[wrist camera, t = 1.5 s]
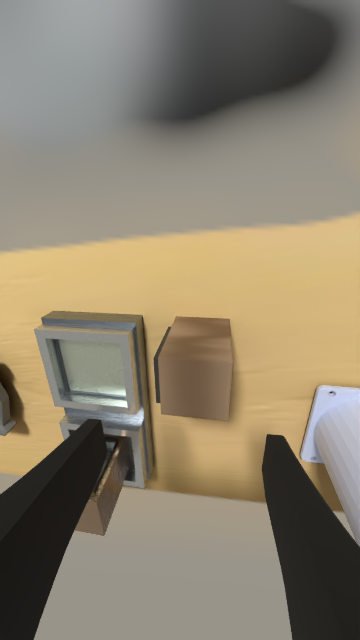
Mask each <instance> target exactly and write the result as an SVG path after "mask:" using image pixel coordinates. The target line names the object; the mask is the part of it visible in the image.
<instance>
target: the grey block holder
mask: <svg viewBox="0 0 360 640" xmlns="http://www.w3.org/2000/svg"><path fill="white" fill-rule="evenodd" d="M41 319H42V323H43V324H42V325H40V326H39V327H37V328H35V329H34V331H35V335H36V338H37V342H38V346H39V350H40V353H41V357H42V361H43V364H44V368H45V372H46V375H47V379H48V383H49V386H50V390H51V394H52V397H53V401H54V405H55V406H57V407H64V410H65V416H64V417H63V418H62V420H61V421H60V422H59V423H60V427H61V431H62V434H63V438H64V440H66V439H67V438H68V437H69V436H70V435H71V434H72V433H73V432H74V431H75V430H76V429H77V428H78V427H80V426H81V425H82V424H83V423H84V422H85V421H86V420H87V419H88V418H89V419H100V420H101V422H102V426H103V431H104V436H105V441H106V446H107V450H108V453H107V456H106V459H105V462H104V465H103V468H102V470H101V473H100V476H99V478H98V481H97V483H96V485H95V487H94V489H93V492H92V494H91V496H90V498H89V500H88V502H87V504H86V507H85V509H84V511H83V513H82V515H81V517H80V519H79V522H78V524H77V526H76V528H75V530H76V531H81V532H87V533H92V534H97V535H102V536H104V535H105V532H106V530H107V527H108V524H109V522H110V519H111V516H112V513H113V510H114V508H115V505H116V502H117V500H118V497H119V494H120V491H121V489H122V486H123V485H127V486H133V487H140V488H145V485H146V481H147V479H150V478H151V474H152V470H153V467H154V460H153V447H152V434H151V422H150V409H149V396H148V384H147V371H146V358H145V346H144V333H143V321H142V315H129V314H107V313H86V312H65V311H52V312H51V313H49V314H47V315H45V316H44V317H42V318H41Z"/></svg>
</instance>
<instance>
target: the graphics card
mask: <svg viewBox="0 0 360 640" xmlns="http://www.w3.org/2000/svg"><path fill="white" fill-rule="evenodd" d="M15 424H16V422H15V421H13V420H12V419H10V406H9V396H8V394H7V393H6V391H5V389H4V388H3V386H2V384H1V383H0V435H3V436H5V435H6V434H7V433H8V432H9V431H10V430H11V429H12V428H13V427H14V425H15Z"/></svg>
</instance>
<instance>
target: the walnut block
mask: <svg viewBox="0 0 360 640" xmlns="http://www.w3.org/2000/svg"><path fill="white" fill-rule="evenodd" d="M232 368H233V358H232V346H231V334H230V322H229V319H219V318H198V317H177V316H176V318H175V320H174V323H173V325H172V327H168V329H167V331H166V333H165V335H164V337H163V340H162V342H161V344H160V346H159V348H158V350H157V352H156V354H155V357H154V373H155V389H156V403H161V414H164V415H173V416H183V417H192V418H202V419H211V420H221V421H228V416H229V404H230V392H231V380H232Z"/></svg>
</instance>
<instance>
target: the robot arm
mask: <svg viewBox="0 0 360 640" xmlns="http://www.w3.org/2000/svg"><path fill="white" fill-rule="evenodd" d="M331 391H333V392H332V393H329V392H331ZM107 453H108V450H107V446H106V441H105V436H104V431H103V426H102V422H101V420H100V419H89V418H88V419H87V420H86V421H85V422H84V423H83V424H82V425H81V426H80V427H78V428H77V429H76V430H75V431H74V432H73V433H72V434H71V435H70V436H69V437H68V438H67V439H66V440H64V441H63V442H62V443H61V444H60V445H59V446H58V447H57V448H56V449H54V450H53V451H52V452H51V453H50V454H49V455H48V456H47V457H46V458H44V459H43V460H42V461H41V462H40V463H39V464H37V465H36V466H35V467H34V468H33V469H32V470H30V471H29V472H28V473H27V474H26V475H24V476H23V477H22V478H21V479H20V480H18V481H17V482H16V483H15V484H13V485H12V486H11V487H9V488H8V489H7V490H6V491H4V492H3V493H2V494H0V640H34V637H35V634H36V631H37V628H38V625H39V622H40V619H41V616H42V613H43V610H44V607H45V605H46V602H47V599H48V596H49V594H50V591H51V588H52V585H53V582H54V580H55V577H56V574H57V572H58V569H59V566H60V564H61V561H62V559H63V556H64V553H65V550H66V548H67V546H68V544H69V541H70V539H71V537H72V534H73V532H74V530H75V528H76V526H77V524H78V522H79V519H80V517H81V515H82V513H83V511H84V509H85V507H86V504H87V502H88V500H89V498H90V496H91V494H92V492H93V489H94V487H95V485H96V483H97V481H98V478H99V476H100V473H101V470H102V468H103V465H104V462H105V459H106V456H107ZM300 456H301V459H302V460H304V461H307V462H315V463H323V464H324V465H325V467H326V469H327V472H328V474H329V477H330V479H331V481H332V484H333V486H334V489H335V491H336V493H337V496H338V498H339V501H340V503H341V505H342V508H343V510H344V513H345V515H346V517H347V520H348V522H349V525H350V527H351V530H352V532H353V534H354V537H355V539H356V542H357V543H356V542H355V540H354V539H353V538H352V537H351V536H350V534H349V533H348V531H347V530H346V529H345V528H344V526H343V525H342V524H341V522H340V521H339V519H338V518H337V517H336V515H335V514H334V513H333V511H332V510H331V509H330V507H329V506H328V504H327V503H326V502H325V500H324V499H323V497H322V496H321V494H320V493H319V492H318V490H317V489H316V487H315V486H314V484H313V483H312V481H311V480H310V478H309V477H308V475H307V474H306V472H305V471H304V469H303V467H302V466H301V464H300V463H299V461H298V459H297V458H296V456H295V454H294V453H293V451H292V449H291V448H290V446H289V444H288V442H287V441H286V439H285V437H284V436H282V435H270V434H267V438H266V444H265V451H264V458H263V464H262V473H263V482H264V490H265V497H266V502H267V506H268V511H269V515H270V520H271V525H272V529H273V534H274V538H275V542H276V547H277V552H278V556H279V561H280V565H281V569H282V575H283V580H284V585H285V591H286V599H287V605H288V612H289V619H290V625H291V632H292V639H293V640H360V388H352V387H340V386H328V385H322V386H319V387H318V388H317V390H316V393H315V397H314V401H313V405H312V409H311V413H310V417H309V421H308V425H307V429H306V433H305V437H304V441H303V444H302V448H301V452H300Z"/></svg>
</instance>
